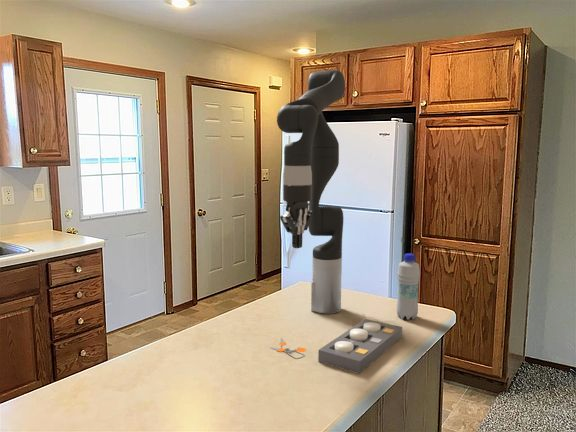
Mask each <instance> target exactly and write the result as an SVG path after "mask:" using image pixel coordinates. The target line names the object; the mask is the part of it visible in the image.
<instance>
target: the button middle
mask: <svg viewBox="0 0 576 432" xmlns="http://www.w3.org/2000/svg"><path fill="white" fill-rule="evenodd" d="M350 339H351V340H355V341H359V342H363V343H364V342H366V341H367V340H368V332H367V331H366V330H364V329H352V330H350Z"/></svg>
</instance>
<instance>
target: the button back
mask: <svg viewBox="0 0 576 432" xmlns="http://www.w3.org/2000/svg"><path fill="white" fill-rule="evenodd" d="M380 328H381V326H380V324H378V323H374V322H368V323H364V325H363V329H364V330H367V331H372V332H376V333H378V332H379V331H380Z"/></svg>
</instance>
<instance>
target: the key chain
mask: <svg viewBox="0 0 576 432" xmlns="http://www.w3.org/2000/svg"><path fill="white" fill-rule="evenodd" d="M278 345H280V348H278V347H277V348H276V347H272V346H270V347H269V349H271V350H274V351H276V352H277V353H283V352H284V353H286V354H288V355H289V356H290V357H291V358H293V359H294V360H298V359H302V358H304V357H305V356H306V354H304V352H306V351H307V349H306V348H304V347H298V348H297V349H290V348H289V347H288V348H284V347H283V346H285V345H287V342H286V341H285V340H284V338H281V337H280V342H278ZM292 353H298V354H300V355H302V356H299V357H295V356H294V355H293V354H292Z"/></svg>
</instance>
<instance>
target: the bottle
mask: <svg viewBox="0 0 576 432" xmlns="http://www.w3.org/2000/svg"><path fill="white" fill-rule="evenodd" d="M420 276H421V271H420V264H419V263H417V262H416V255H415V254H413V253H410V252H409V253H405V254H404V255H403V261H401V262H399V263H398V269H397V280H398V281H397V282H398V283H397V302H396V314H397V317H399V318H400V319H402V320H404V319H405V317H406V321H407V320H415V318H416V317H418V313H419V312H418V311H419V302H418V301H419V300H418V298H419V297H418V296H419V281H420Z"/></svg>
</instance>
